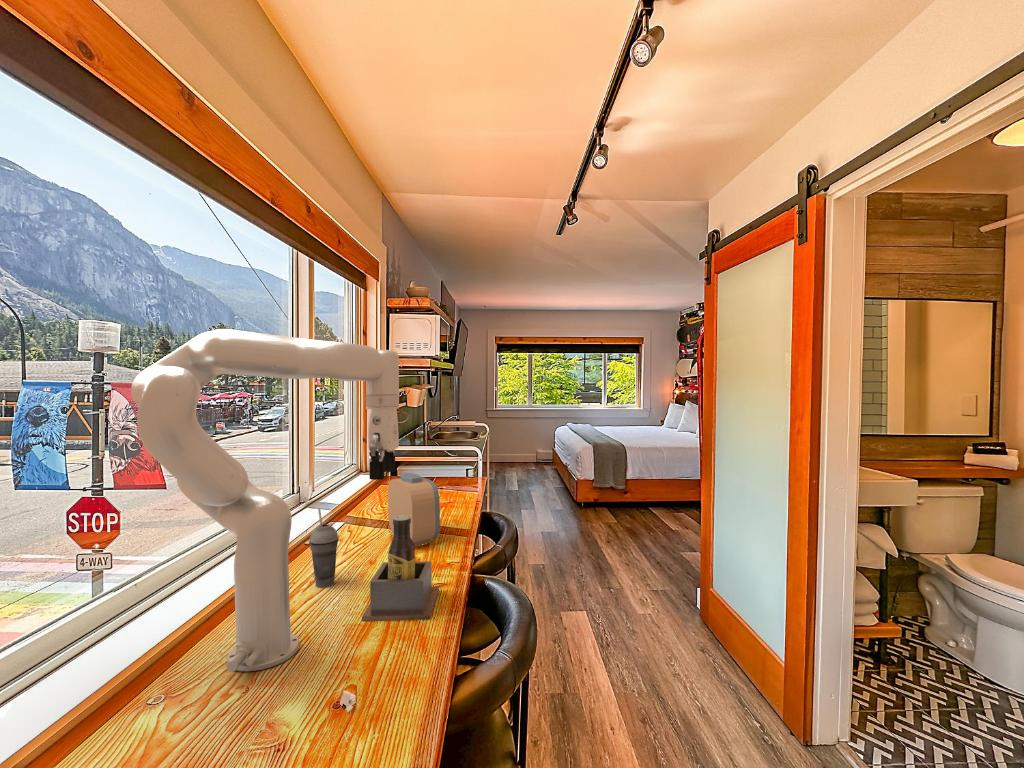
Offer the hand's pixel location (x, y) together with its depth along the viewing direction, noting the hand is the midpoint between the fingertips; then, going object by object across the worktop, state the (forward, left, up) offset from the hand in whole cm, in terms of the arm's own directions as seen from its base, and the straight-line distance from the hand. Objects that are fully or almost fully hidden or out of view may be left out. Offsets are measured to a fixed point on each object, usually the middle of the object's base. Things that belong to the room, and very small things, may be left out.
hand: (382, 475), depth 118 cm
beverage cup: (+13, +19, -31) cm, 39 cm away
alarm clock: (+47, +2, -31) cm, 56 cm away
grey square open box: (0, -4, -31) cm, 31 cm away
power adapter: (-36, -4, -31) cm, 48 cm away
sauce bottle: (0, -4, -30) cm, 30 cm away
